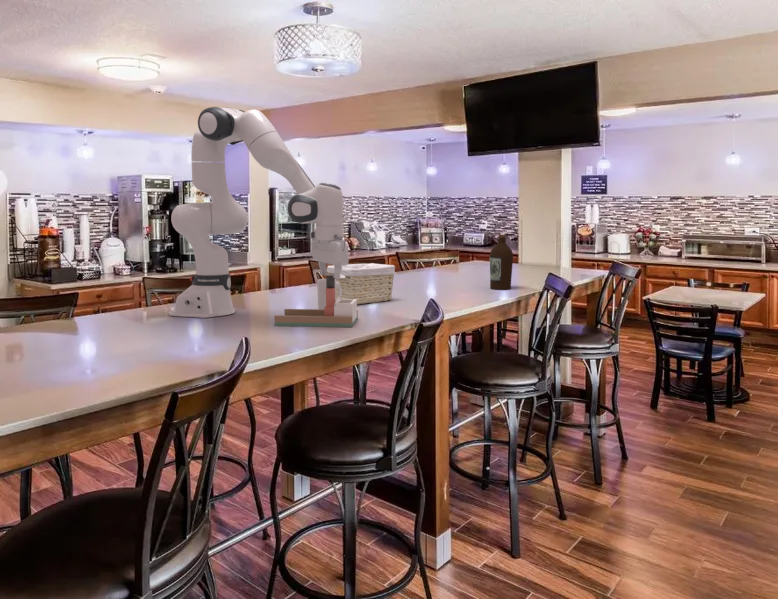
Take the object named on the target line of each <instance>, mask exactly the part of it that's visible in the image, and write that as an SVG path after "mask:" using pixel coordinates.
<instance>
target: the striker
mask: <svg viewBox="0 0 778 599" xmlns="http://www.w3.org/2000/svg"><path fill="white" fill-rule="evenodd" d="M325 279H326V307H325V308H324V316H334V303H335V279H334V278H333V275H325Z"/></svg>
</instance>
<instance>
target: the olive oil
mask: <svg viewBox="0 0 778 599" xmlns="http://www.w3.org/2000/svg"><path fill="white" fill-rule="evenodd" d="M506 236H507V235H506V234H498V238H497V240H498V241H497V243H496V245H495V246H494V247H493V248H492V249H491V250H490V253H489V280H490V281H489V282H490V283H489V286H490V289H491V290H496V291H497V290H498V291H508V290H511V289H512V276H513V275H512V274H513V265H514V253H513V250H512V249H511V247H510V246H509V245H508V244H507V243H506V241H507V240H506Z"/></svg>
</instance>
